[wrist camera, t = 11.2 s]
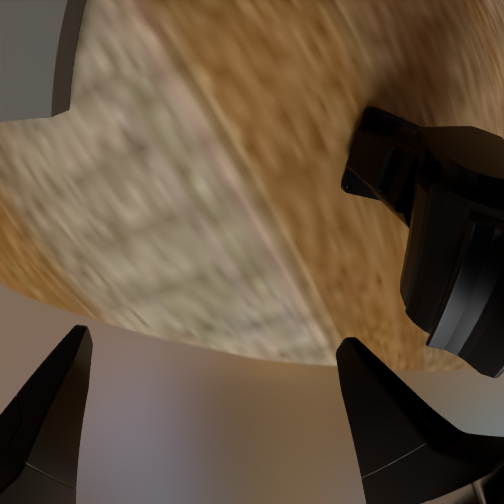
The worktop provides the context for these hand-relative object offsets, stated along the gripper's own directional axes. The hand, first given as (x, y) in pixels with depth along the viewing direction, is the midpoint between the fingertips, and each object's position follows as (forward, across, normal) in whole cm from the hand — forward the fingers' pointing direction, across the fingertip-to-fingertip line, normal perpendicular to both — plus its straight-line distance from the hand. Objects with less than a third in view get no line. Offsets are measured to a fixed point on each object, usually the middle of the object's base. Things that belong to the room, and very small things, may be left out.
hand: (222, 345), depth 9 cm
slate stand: (+12, +15, -10) cm, 22 cm away
